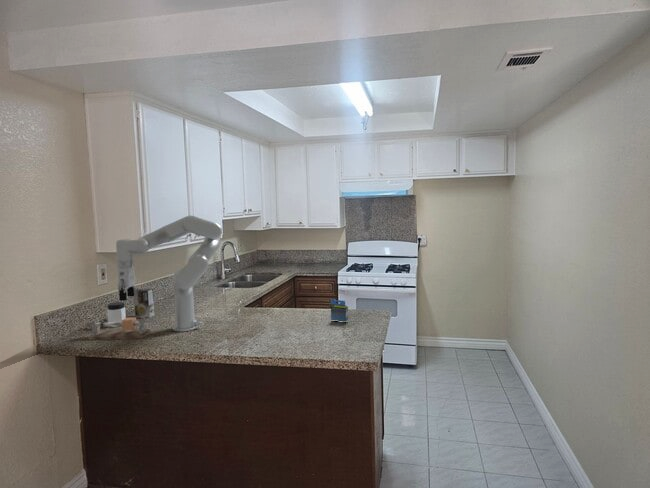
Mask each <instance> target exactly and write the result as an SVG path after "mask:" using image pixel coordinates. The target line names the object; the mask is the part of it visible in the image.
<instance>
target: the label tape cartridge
mask: <svg viewBox="0 0 650 488" xmlns="http://www.w3.org/2000/svg"><path fill="white" fill-rule="evenodd" d="M331 320H338V321H347V320H348V321H349V306H348V305H346V301H345V300H339V299H330V321H331Z"/></svg>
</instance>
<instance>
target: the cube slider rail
mask: <svg viewBox="0 0 650 488" xmlns="http://www.w3.org/2000/svg"><path fill="white" fill-rule="evenodd" d="M146 319H147V318H139V321H138V320H136V322H133V323H134V326H135V325H137V326H139V329H133V330H123V329H119V330H116V329H115V330H101V328H105V327H106V328H107V327H110V326H118V327H122V322H109V323H108V322H105V321H104V322H103V321H102V322H100V320H99V319H98V318H95V319H94V320H92V321H91V320H90V321H88V322H87V323H86V324H87V325H86V326H87V330H91V335H89V336H88V337H87V338H88V339H87V340H88V341H95V340H118V339H120V340H121V339H122V340H123V339H143V338H145V337H146V336H147V335H148V334H149V333H151V329H149V328H147V322H146Z"/></svg>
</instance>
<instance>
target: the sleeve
mask: <svg viewBox="0 0 650 488" xmlns="http://www.w3.org/2000/svg"><path fill="white" fill-rule="evenodd" d="M133 322H137V318H136V317H133V316H132V317H126V318H125V319H123V320H122V326H121V327H122V328H121V330H136V329H137V326H138V325H135V326H134V323H133Z"/></svg>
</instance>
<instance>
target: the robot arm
mask: <svg viewBox="0 0 650 488" xmlns="http://www.w3.org/2000/svg"><path fill="white" fill-rule="evenodd" d="M222 229H223V228H222V226H221V224H218V223H217V222H213V221H210V220H207V219H204V218H200V217H198V216H194V215H187V216H184V217H182V218H179V219H177V220H175V221H173V222H170V223H168V224H166V225H163V226H162V227H160V228H159V229H155V230H154V231H152V232H150V233H147V234H145V235H142V236H141V237H139V238H137V239H129V238H128V239H123V238H122V239H118V240H116V241H115V245H116V246H115V247H116V249H115V250H116V268H118V272H117V282H118V283H117V287H118V288H117V290H118V295H119V297H118V298H119V299H118V300H119V302H123V301H127V300H128V298H129V297H134V291H135V285H136V282H137V281H136V273H135V262H134V261H135V260H134V254H138V255H143V254H147V253H148V252H149V250H151V249H153V248H155V247H157V246H161V245H163V244H166V243H171V242H173V241H175V240H178V239H180V238H182V237H184V236H186V235H188V234H193V235H197V236H201V237H204V240H203V242H202V243H201V244H200V246H199V247H198V248H197V249H196V250H195V251H194V252H193V253H192V254H191V255H190V256H189V258H188V260H187V263H186V264H185V265H184V267H183V268H179V269H177V270H176V271H174V273H173V277H172V285H173V297H174V315H175V316H174V317H175V325H174V326H172V330H173V331H175V332H190V331H194V330H196V329H197V328H199V326H202V325H204V322H203V321H202V320H197V318H196V317H195V304H194V303H195V302H194V301H195V300H194V285H195V284H196V283H197V282H198V281H199V280H200V278H202V276H203V275H204V274H205V272H206V271H207V270H208V268H209V265H210V264H209V262H210V261H211V259H212V258H213V256H214V255H215V254H216V253H217V252H218V251H219V250H218V249H219V248H220V245H221V239H222V238H221V236H222V232H223V230H222ZM127 297H128V298H127Z"/></svg>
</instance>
